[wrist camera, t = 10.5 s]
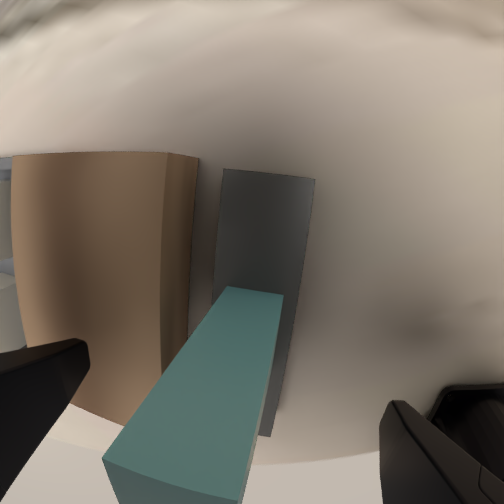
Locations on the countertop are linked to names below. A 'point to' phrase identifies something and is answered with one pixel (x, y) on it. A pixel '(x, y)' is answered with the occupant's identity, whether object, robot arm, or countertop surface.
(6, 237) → the tile
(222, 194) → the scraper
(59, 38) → the countertop surface
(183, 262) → the walnut board
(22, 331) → the tile
